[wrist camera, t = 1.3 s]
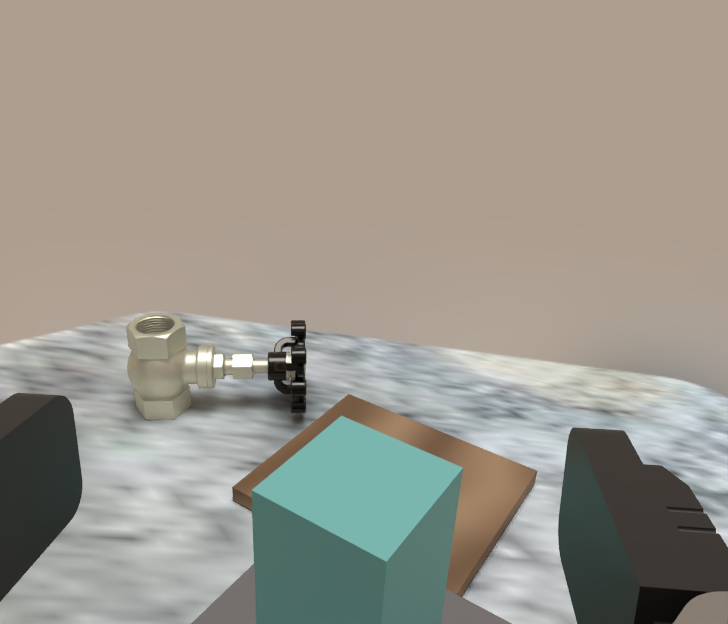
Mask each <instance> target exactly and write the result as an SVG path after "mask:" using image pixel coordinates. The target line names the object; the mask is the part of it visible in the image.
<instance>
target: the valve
mask: <svg viewBox="0 0 728 624" xmlns="http://www.w3.org/2000/svg"><path fill="white" fill-rule="evenodd" d="M126 331H127V339H128V346H129V348H130V349H131V350H132V351H131V353H130V356H129V359H128V365H127V370H128V376H129V379H130V382H131V383H132V385H133V387H134V394H135V402H136V407H137V408H138V410H139V411H140V413H141V414H142V416H143V417H144V418H145V420H173V419H176V418H177V417H178V416H179V415H180V414H182V413H183V412H184V411H185V410H187V409H188V408H189V407H190V406H191V405H192V404H191V392H190V387H189V385H188V384H198V387H199V388H200V389H204V388H207V389H209V388H214V387H215V383H216V379H224V377H225V376H226V375H233V379H252V378H253V375H254V374H257V373H268V380H269V381H272V380H274V384H275V387H276V388H277V390H278V391H280V392H281V393H284V394H291V413H305V412H306V397H305V396H306V379H305V371H306V348H305V339H306V324H305V321H303V320H297V321H296V320H292V321H291V336H295V337H286V338H283V339H281V340H279V341H278V342H277V343H276V345H275V348H274V352H268V359H254V357H253V354H235V355H233V358H225V355H216V349H215V346H214V345H200V346H199V348H198V350H188V349H186V348H185V347H186V346H187V344H186V331H185V326H184V324H183V323H182V321H181V320H180V319H179V318H178V317H177V316H175V315H171V314H165V313H154V314H148V315H144V316H141V317H138V318H136V319H135V320H133V321H132V322H131V323H129V324H128V325H127V326H126ZM284 347H291V355H290V359H289V352H282V349H283V348H284ZM289 373H290V378H291V385H286V384H284V383H283V382H282V380H289Z"/></svg>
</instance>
